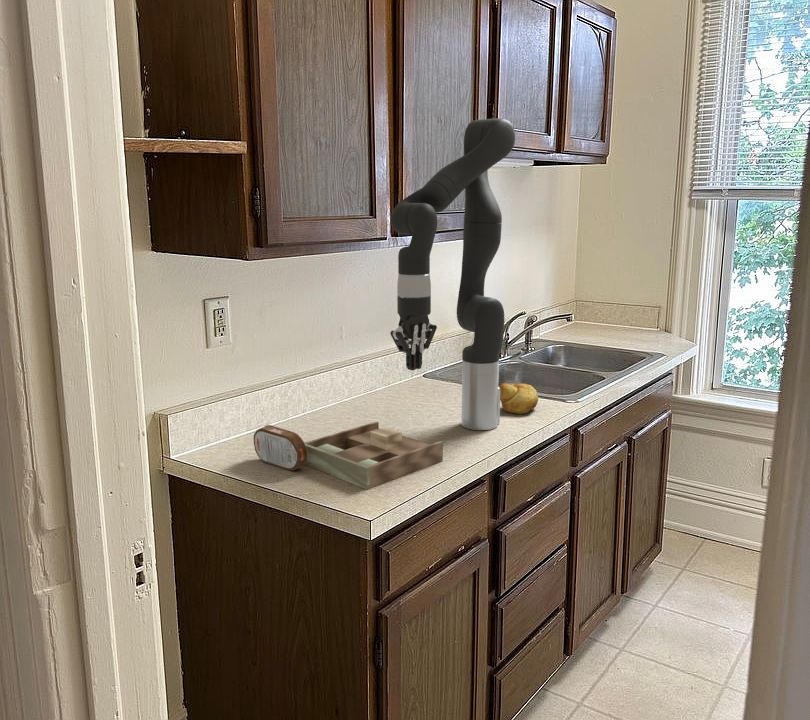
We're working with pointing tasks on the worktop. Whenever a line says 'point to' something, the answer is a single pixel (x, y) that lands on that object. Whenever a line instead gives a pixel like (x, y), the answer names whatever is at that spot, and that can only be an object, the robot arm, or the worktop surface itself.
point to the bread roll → (518, 397)
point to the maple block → (386, 438)
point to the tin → (280, 447)
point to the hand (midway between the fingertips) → (414, 368)
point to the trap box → (369, 456)
